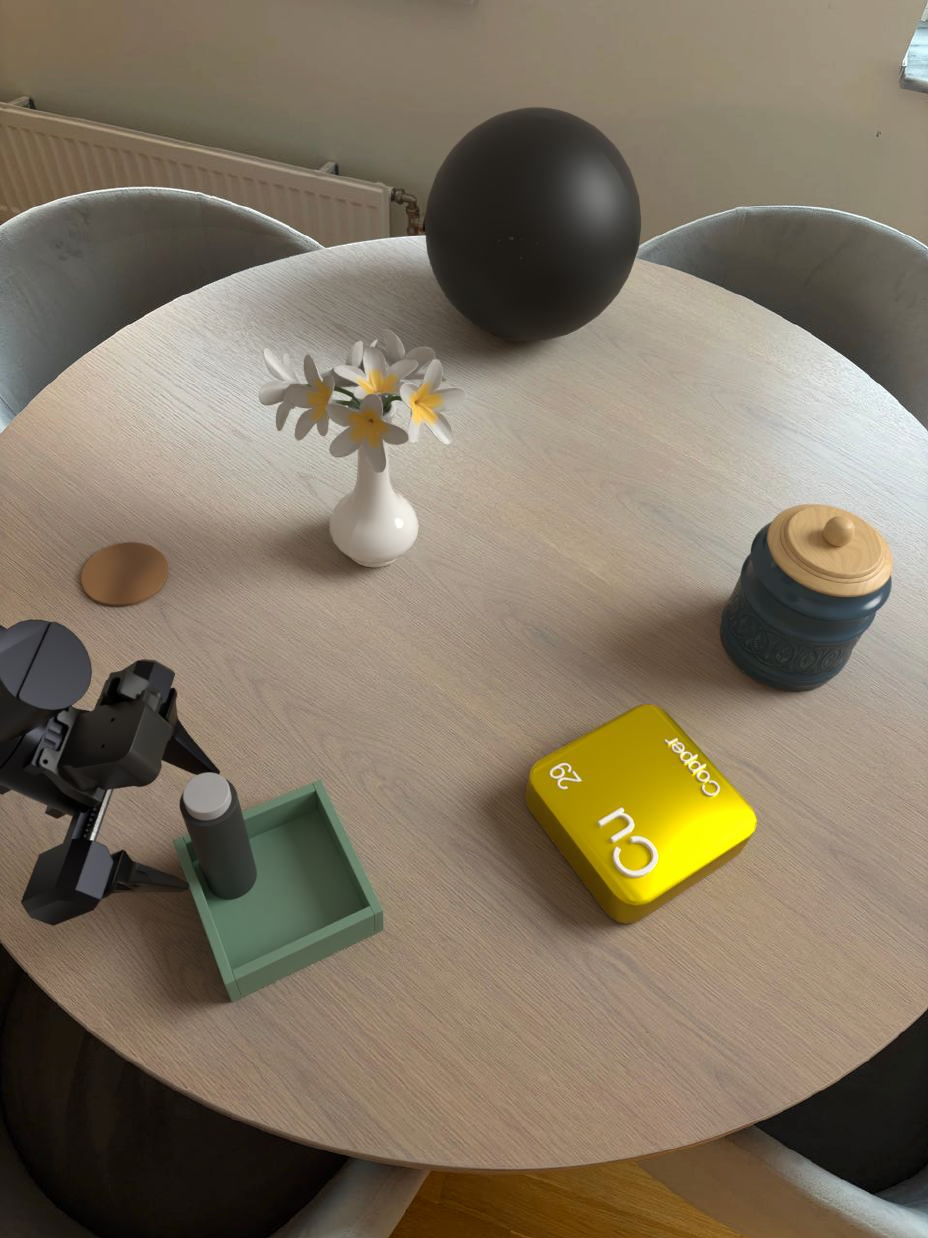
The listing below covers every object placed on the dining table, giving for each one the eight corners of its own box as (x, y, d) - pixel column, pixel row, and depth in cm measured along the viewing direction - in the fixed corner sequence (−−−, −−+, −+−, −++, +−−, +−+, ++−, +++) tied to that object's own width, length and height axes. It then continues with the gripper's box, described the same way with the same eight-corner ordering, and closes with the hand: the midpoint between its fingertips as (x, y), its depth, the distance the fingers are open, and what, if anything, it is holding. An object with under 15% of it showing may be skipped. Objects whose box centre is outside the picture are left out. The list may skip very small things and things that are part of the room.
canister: (836, 712, 92) (915, 595, 78) (705, 669, 94) (759, 548, 80) (849, 616, 100) (923, 494, 86) (728, 579, 102) (782, 454, 88)
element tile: (753, 846, 83) (770, 821, 79) (619, 935, 77) (631, 912, 73) (643, 720, 90) (655, 692, 86) (514, 793, 84) (520, 766, 81)
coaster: (93, 617, 94) (92, 615, 93) (72, 559, 98) (71, 556, 98) (178, 590, 96) (178, 587, 96) (154, 535, 101) (153, 532, 101)
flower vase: (289, 502, 105) (266, 303, 86) (455, 511, 106) (470, 315, 86) (273, 591, 97) (243, 394, 78) (452, 600, 98) (468, 407, 78)
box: (231, 1002, 72) (224, 985, 68) (181, 861, 78) (172, 839, 75) (383, 930, 76) (383, 910, 73) (323, 802, 83) (320, 779, 79)
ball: (414, 268, 136) (419, 65, 115) (597, 267, 139) (634, 70, 118) (430, 386, 120) (439, 174, 99) (637, 382, 123) (689, 177, 102)
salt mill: (216, 908, 76) (186, 827, 64) (200, 865, 78) (169, 780, 67) (263, 887, 77) (243, 804, 66) (247, 845, 79) (224, 758, 68)
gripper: (15, 838, 52) (240, 931, 61) (118, 583, 64) (294, 691, 72) (-73, 883, 58) (143, 962, 67) (36, 642, 70) (208, 736, 79)
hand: (201, 830), depth 71 cm, fingers open, 9 cm apart
